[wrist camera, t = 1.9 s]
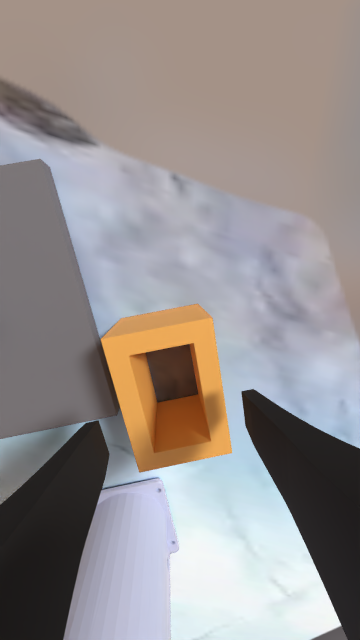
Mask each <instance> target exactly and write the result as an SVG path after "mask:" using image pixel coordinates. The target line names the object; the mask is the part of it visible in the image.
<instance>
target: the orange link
mask: <svg viewBox="0 0 360 640" xmlns="http://www.w3.org/2000/svg"><path fill="white" fill-rule="evenodd" d="M101 342H102V346H103V349H104V353H105V356H106V359H107V363H108V366H109V370H110V373H111V377H112V380H113V384H114V387H115V390H116V394H117V397H118V401H119V404H120V408H121V411H122V414H123V418H124V421H125V425H126V428H127V432H128V435H129V438H130V442H131V445H132V449H133V452H134V456H135V459H136V463H137V466H138V469H139V472H144V471H149V470H153V469H158V468H163V467H168V466H172V465H177V464H182V463H186V462H191V461H196V460H201V459H205V458H210V457H215V456H220V455H224V454H229V453H232V448H231V441H230V434H229V428H228V421H227V414H226V407H225V400H224V393H223V387H222V380H221V373H220V366H219V359H218V352H217V346H216V339H215V332H214V325H213V318H212V317H211V316H210V315H209V314H208V313H207V312H206V311H205V310H204V309H203V308H202V307H201V306H200V305H199V304H194V305H189V306H184V307H178V308H173V309H168V310H163V311H157V312H152V313H147V314H142V315H137V316H131V317H126V318H121V319H120V320H119V321H118V322H117V323H116V324H115V325H114V326H113V327H112V328H111V329H110V330H109V331H108V332H107V333H106V334H105V335H104V336H103V337H102V338H101ZM186 344H189V345H190V350H191V356H192V361H193V367H194V373H195V378H196V384H197V389H198V394H197V395H192V396H187V397H183V398H178V399H173V400H168V401H163V402H158V403H157V399H156V394H155V390H154V386H153V382H152V378H151V373H150V369H149V365H148V361H147V357H146V353H145V352H150V351H155V350H160V349H165V348H171V347H176V346H181V345H186Z"/></svg>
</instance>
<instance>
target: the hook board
mask: <svg viewBox="0 0 360 640" xmlns="http://www.w3.org/2000/svg"><path fill="white" fill-rule="evenodd" d="M119 408H120V406H119V403H118V399H117V396H116V393H115V389H114V386H113V382H112V379H111V375H110V372H109V369H108V365H107V362H106V358H105V355H104V351H103V348H102V345H101V341H100V338H99V334H98V331H97V327H96V324H95V321H94V317H93V314H92V310H91V307H90V303H89V300H88V297H87V293H86V290H85V286H84V283H83V280H82V276H81V273H80V269H79V266H78V262H77V259H76V256H75V252H74V249H73V245H72V242H71V238H70V235H69V232H68V228H67V225H66V221H65V218H64V214H63V211H62V208H61V204H60V201H59V197H58V194H57V190H56V187H55V184H54V180H53V177H52V173H51V170H50V167H49V166H48V165H46V164H45V163H44V162H43V161H42V160H41V159H37V160H31V161H25V162H19V163H13V164H7V165H1V166H0V439H3V438H8V437H12V436H17V435H22V434H27V433H32V432H37V431H42V430H47V429H52V428H57V427H62V426H66V425H71V424H76V423H81V422H86V421H91V420H96V419H101V418H106V417H111V416H116V415H117V414H118V411H119Z"/></svg>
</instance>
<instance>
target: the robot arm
mask: <svg viewBox="0 0 360 640" xmlns="http://www.w3.org/2000/svg"><path fill="white" fill-rule="evenodd" d="M242 400H243V408H244V416H245V425H246V428H247V430H248V433H249V435H250V437H251V440H252V442H253V444H254V446H255V448H256V450H257V452H258V454H259V456H260V457H261V459H262V461H263V463H264V465H265V466H266V468H267V470H268V472H269V474H270V475H271V477H272V479H273V481H274V483H275V484H276V486H277V488H278V490H279V491H280V493H281V495H282V497H283V499H284V500H285V502H286V504H287V506H288V508H289V510H290V512H291V514H292V516H293V518H294V521H295V523H296V525H297V527H298V529H299V531H300V533H301V536H302V538H303V540H304V542H305V544H306V546H307V549H308V551H309V553H310V555H311V557H312V560H313V562H314V564H315V566H316V568H317V571H318V573H319V575H320V577H321V580H322V582H323V584H324V586H325V589H326V591H327V593H328V595H329V598H330V600H331V602H332V605H333V607H334V609H335V611H336V614H337V616H338V618H339V620H340V623H341V625H342V627H343V630H344V632H345V634H346V636H347V639H348V640H360V449H359V448H357V447H355V446H352V445H350V444H348V443H346V442H343V441H341V440H339V439H337V438H335V437H333V436H331V435H329V434H327V433H325V432H323V431H321V430H319V429H317V428H315V427H313V426H312V425H310V424H308V423H306V422H305V421H303V420H301V419H299V418H298V417H296V416H294V415H292V414H291V413H289V412H288V411H286V410H284V409H283V408H281V407H280V406H278V405H277V404H275V403H274V402H272V401H270V400H269V399H267V398H266V397H265V396H263V395H262V394H260V393H259V392H257V391H256V390H254V389H252V390H247V391H242ZM108 459H109V451H108V448H107V445H106V442H105V439H104V436H103V433H102V430H101V427H100V424H99V421H94V422H89V423H86V424H85V425H83V426H82V427H81V428H80V429H79V430H78V431H77V432H76V433H75V434H74V435H73V436H72V437H71V438H70V439H69V440H68V441H67V442H66V443H65V444H64V445H63V446H62V447H61V448H60V449H59V450H58V451H57V452H56V453H55V454H54V455H53V456H52V457H51V459H50V460H49V461H48V462H46V463H45V464H44V465H43V466H42V467H41V468H40V469H39V470H38V471H37V472H36V473H35V474H34V475H33V476H32V477H31V478H30V479H29V480H28V481H27V482H26V483H24V484H23V485H22V486H21V487H20V488H19V489H18V490H17V491H16V492H15V493H13V494H12V495H11V496H10V497H9V498H8V499H7V500H6V501H4V502H3V503H2V504H1V505H0V640H171V614H170V554H171V553H175V552H177V551H178V550H179V543H178V539H177V535H176V531H175V527H174V523H173V520H172V516H171V512H170V508H169V504H168V500H167V496H166V493H165V489H164V485H163V481H162V480H161V479H159V478H156V479H152V480H147V481H142V482H137V483H133V484H128V485H123V486H119V487H114V488H109V489H105V490H102V486H103V483H104V480H105V475H106V470H107V465H108Z"/></svg>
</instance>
